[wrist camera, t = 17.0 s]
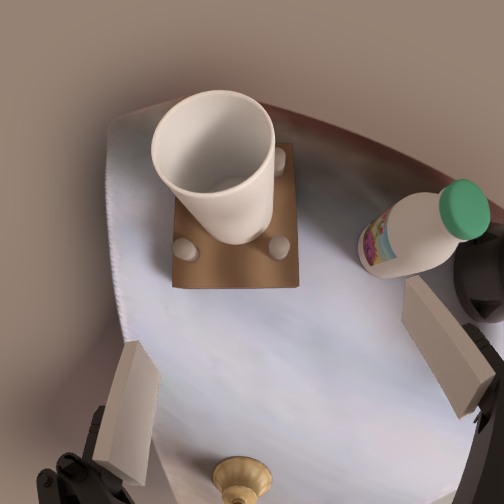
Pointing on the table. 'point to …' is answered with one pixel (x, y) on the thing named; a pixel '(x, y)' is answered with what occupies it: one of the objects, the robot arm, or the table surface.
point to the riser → (242, 255)
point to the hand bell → (241, 480)
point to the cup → (219, 162)
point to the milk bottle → (423, 230)
